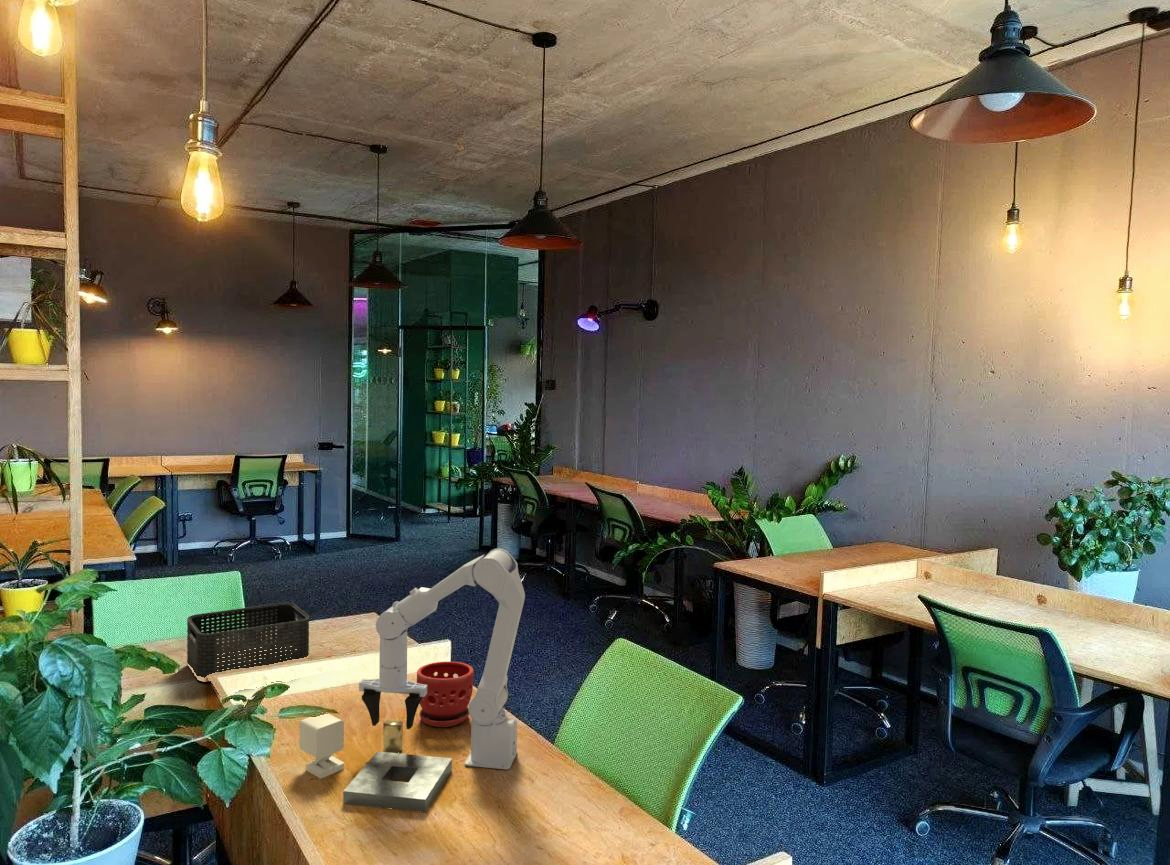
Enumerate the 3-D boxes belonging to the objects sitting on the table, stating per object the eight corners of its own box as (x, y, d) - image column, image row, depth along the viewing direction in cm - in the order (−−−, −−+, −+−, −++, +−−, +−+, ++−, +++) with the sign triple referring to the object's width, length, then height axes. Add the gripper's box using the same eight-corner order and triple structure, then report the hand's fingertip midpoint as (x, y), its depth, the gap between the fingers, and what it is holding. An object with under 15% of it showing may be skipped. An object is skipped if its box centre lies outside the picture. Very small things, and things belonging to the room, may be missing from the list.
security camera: (326, 756, 169) (326, 710, 168) (346, 768, 164) (346, 720, 163) (299, 768, 164) (299, 720, 163) (318, 779, 159) (318, 731, 158)
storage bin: (291, 644, 236) (291, 599, 235) (312, 665, 220) (312, 617, 219) (184, 663, 219) (184, 615, 218) (199, 687, 203) (198, 635, 202)
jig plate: (451, 770, 164) (451, 758, 164) (425, 812, 148) (425, 799, 148) (377, 763, 166) (377, 751, 166) (343, 803, 151) (343, 791, 150)
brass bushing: (405, 746, 174) (405, 719, 173) (398, 755, 170) (398, 728, 169) (387, 745, 174) (387, 718, 174) (380, 753, 170) (380, 726, 170)
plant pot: (481, 724, 186) (482, 674, 185) (425, 735, 179) (426, 683, 178) (462, 703, 197) (462, 655, 196) (409, 713, 191) (409, 664, 190)
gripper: (432, 659, 174) (431, 720, 175) (368, 654, 176) (368, 714, 177) (421, 671, 167) (420, 734, 168) (354, 665, 169) (354, 728, 170)
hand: (392, 725), depth 172 cm, fingers open, 7 cm apart
